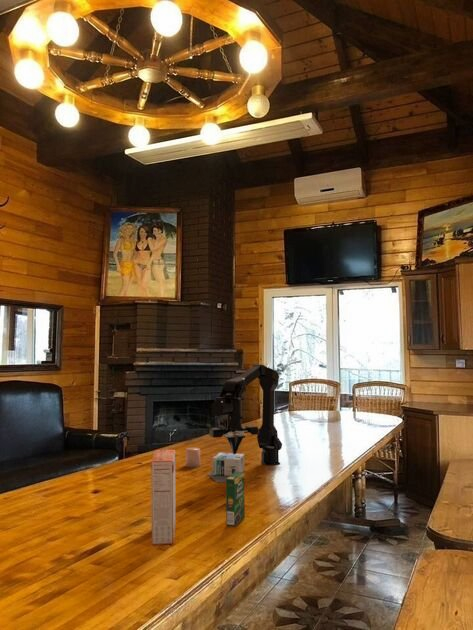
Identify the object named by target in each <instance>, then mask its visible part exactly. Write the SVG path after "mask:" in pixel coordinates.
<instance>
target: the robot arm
mask: <svg viewBox="0 0 473 630" xmlns="http://www.w3.org/2000/svg"><path fill="white" fill-rule="evenodd" d="M256 379H258V383H259V386H260V388H261V389H262V410H261V411H262V413H261V416H262V417H261V421H262V422H261V426H260V427H258V426H256V425H253V424H252V425H245V426H244V427H243V425H242V420H243V419H244V418H243V415H242V401H243V402H244V401H245V398H244V397H243V396H242V395H243V394H244V393H246V390H247V386H248V385H250V384H251V383H252V382H254V381H255V380H256ZM279 379H280V374H279V372H278V371H277V370H276V369H273V368H269V367H268V366H266V365H264V364H262V363H261V364H256V363H255V364H253V365H252V366H251V367H250V368H249V369H247V370H246V371H245V372H243V373H242V374H241V375H239V376H237V377H235V378H234V377H233V378H230V379H228V380H226V381H225V382H224V384H223V387H222V389H221V391H220V394H219V397H216V398H215V401H214V402H213V403H212V405H211V411H212V414H213V415H214V416H216V417H218V418H217V426H218V427H211V428H210V429H209V431H208V432H209V434H208V435H209V436H210V437H211V438H214V439H215V438H216V439H217V438H222V437H223V438H226V439H227V441H228V443H229V446H230V448H231V451H232V452H231V453H233V454H237V452H238V451H239V448H240V445H241V443H242V441H243V439H245V438H246V436H245V434H248V433H249V434H250V435H251V436H254V435H255V436H256V435H257V436H256V439H257V444H258V449H262V450H261V454H260V456H261V457H260V458H261V460H260V463H262V464H264V465H266V466H272V465H273V466H274V465H281V462H280V461H279V451H281V450H282V448H283V443H282V441H281V439H280V438H279V435H278V430H277V429H276V426H275V424H274V423H275V390H277V389H276V388H277V387H278V386H279ZM221 416H225V419H224V417H221Z"/></svg>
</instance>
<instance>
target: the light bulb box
mask: <svg viewBox="0 0 473 630" xmlns="http://www.w3.org/2000/svg"><path fill="white" fill-rule="evenodd" d="M245 456H246V455H245V453H236V454H233V452H218V453H217V454H216V455H215V456H213V457H212V464H211V465H212V469H211V473H212V475H223V476H231V475H233V474H234V473H235V472H243V473H244V471H245V464H246V463H245V460H246V459H245Z"/></svg>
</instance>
